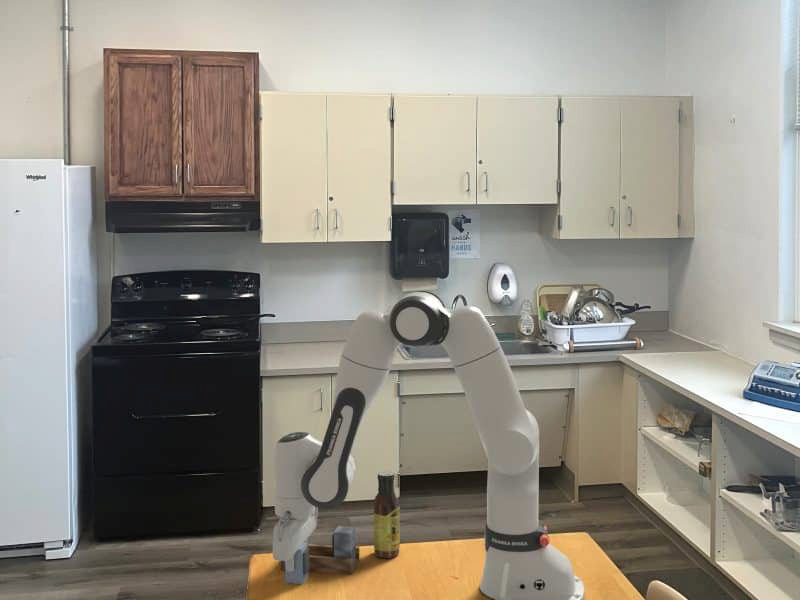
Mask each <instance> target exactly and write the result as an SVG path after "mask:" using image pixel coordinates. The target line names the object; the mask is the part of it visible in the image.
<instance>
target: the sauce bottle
mask: <svg viewBox="0 0 800 600" xmlns="http://www.w3.org/2000/svg"><path fill="white" fill-rule="evenodd" d="M377 481H378V482H377V483H378V484H377V485H378V488H377V491H378V492H377V495H376V496H374V500H373V513H372V515H373V516H372V517H373V548H374V555H375V556H376V557H379V558H381V559H390V558H394V557H396V556H398V555H399V554H400V547H401V546H400V545H401V543H400V542H401V541H400V540H401V539H400V534H401V531H400V527H401V525H400V521H401V520H400V504H399V500H398V498H397V495H396V492H395V482H394V481H395V473H394V472H393V471H387V470H386V471H380V472H378V473H377Z"/></svg>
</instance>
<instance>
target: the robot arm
mask: <svg viewBox="0 0 800 600" xmlns="http://www.w3.org/2000/svg"><path fill="white" fill-rule="evenodd" d="M401 345H404V346H408V347H415V348H423V347H428V346H439V345H441V346H442V347H443V348H444V349H445V351H446V353H447V356H448V357H449V360H450V362H451V364H452V366H453V369H454V372H455V373H456V376H457V378H458V381H459V383H460V385H461V388H462V390H463V392H464V394H465V396H466V397H465V398H466V400H467V402H468V404H469V408H470V411H471V414H472V418H473V421H474V423H475V427H476V430H477V432H478V435H479V438H480V440H481V442H482V446H483V449H484V451H485V453H486V457H487V459H488V460H487V461H488V462H487V463H488V464H487V482H486V483H487V484H486V523H485V527H484V533H483V534H484V537H483V538H484V539H483V540H484V549H485V559H484V567H483V571H482V577H481V579H480V583H479V589H480V591H481V593H483V594H484V595H485V596H487V597H489V598H491V599H494V600H584V599H585V595H586V594H585V593H586V592H585V585H584V582H583V580H581V578H580V577H578V575H575V573H574V569H573V566H572V564H571V561H570V559H569V558H568V557H567V556H566V555H565V554H564V553H563V552H561V551H560V550H558V549H557V548H555V546H553V545H551V543H550V536H549V532H548V531H549V530H547V526H546V525H544V526H542V525H541V524H539V490H540V489H539V487H540V486H539V481H540V480H539V479H540V478H539V473H540V472H539V471H540V470H539V469H540V468H539V467H540V463H539V462H540V460H539V459H540V428H539V424H538V421H537V419H536V417H535V416H534V415H533V413H532V412H530V411H529V410H527V409H526V407H525V404H524V401H523V398H522V397H521V392H520V391H519V387H518V384H517V381H516V378H515V375H514V374H513V371H512V368H511V367H510V364H509V362H508V360H507V357H506V355H505V352H504V351H503V348H502V346H501V343H500V340H499V339H498V337H497V336H496V333H495V331H494V329H493V328H492V326H491V324H490V323H489V321H488V320H487V318H486V317H485V315H484V314H483V313H482V310H480V309H479V308H478V307H476V306H473V305H462V306H459V307H456V308H451V309H448V308H446V306H445V304H444V302H443V301H442V299H441V298H440V297H439V296H438V295H436V294H435V293H433V292H430V291H426V290H418V291H415V292H410V293H407V294H406V295H404V296H403V297H401V298H400V299H399V300H398V302H396V303H395V305H394V306H393V307H392V309H391V311H390V312H383V311H378V310H368V311H364V312H362V313H360V314H359V315H357V318H356V319H355V321H354V323H353V325H352V327H351V329H350V331H349V334H348V335H347V338H346V341H345V343H344V345H343V349H342V352H341V355H340V360H339V363H338V368H337V373H336V378H335V379H336V380H335V388H334V389H335V390H334V395H333V402H332V403H333V404H332V409H331V414H330V418H329V422H328V425H327V427H326V431H325V434H324V437H323V440H322V441H320V440H319V439H317V438H315V437H314V436H312V435H311V434H310V433H309V432H305V431H301V432H300V431H296V432H292V433H288V434H286V435H284V436H283V437H281V438H280V439H279V440H278V441H277V442H276V443H275V448H274V455H273V475H274V478H275V489H274V513H275V515H276V516H277V517H279V520H278V522H277V523H276V524H275V526H274V529H273V534H272V535H273V536H272V558H273V560H275V561H279V562H280V561H285V564H286V571H289V572H293V571H294V569H295V568H296V566H295V565H296V562H294V558H293V557H294V554H295V553H296V551H297V550H298V549H299V548H300V547H301V545H302V544H303V543H304V542H305V543H307V544H308V541H309V540H308V538H309V537H310V536H311V535H312V534H313V532H314V531H316V528H317V525H318V511H319V509H320V510H332V509H335V508H337V507H339V506H340V505H341V504H342V503H344V501H345V500H346V499H347V498H346V497H347V496H348V495H347V494H348V492H349V488H350V486H351V485H352V482H353V479H354V478H355V475H356V472H357V462H356V459H355V457H354V456H353V454H352V449H353V446H354V443H355V440H356V437H357V434H358V430H359V428H360V427H361V424H362V421H363V420H364V418H365V416H366V415H367V413H368V412H369V410H370V409H371V407H372V406H373V404H374V403H376V400H377V398H378V397H379V395H380V394H381V392H382V390H383V388H384V386H385V384H386V381H387V379H388V376H389V375H390V374H389V373H390V371H391V368H392V364H393V361H394V357H395V355H396V352H397V350H398V348H399V347H400V346H401Z"/></svg>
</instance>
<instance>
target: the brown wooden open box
mask: <svg viewBox="0 0 800 600" xmlns="http://www.w3.org/2000/svg"><path fill="white" fill-rule="evenodd" d="M331 536H332V537H331V543H332V544H330V545H329V544H316V543H307V548H309V564H310V569H309V571H308V572H312V573H314V572H316V573H327V574H328V573H329V574H340V575H341V574H342V575H353V573H354V571H355V570H356V568H357V566H358V564H359V563H360V558H361V557H360V546H359V547H358V546H356V526H343V525H338V526H337V527H336V529H335V530H334V531H333V533H332V535H331ZM279 563H280V565H279V566H280V570H284V569H285V561H279Z"/></svg>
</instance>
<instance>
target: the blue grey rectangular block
mask: <svg viewBox="0 0 800 600" xmlns="http://www.w3.org/2000/svg"><path fill="white" fill-rule="evenodd" d="M307 544H308V542H307V543H305V542H304V543H303V544H302V545H301V547H300V548H299V549H298V550H297V551H296V553H295V554H294V557H293V558H294V562H296V565H295V566H296V568H295V569H294V571H293V572H289V571H286V564H285V570H284V574H285V575H284V576H285V577H284V578H285V579H284V581H285V584H295V585H297V584H298V585H304V583H305V582H306V580H307V579H308V577H309V572H310V571H309V569H310V564H309V548H307Z"/></svg>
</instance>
